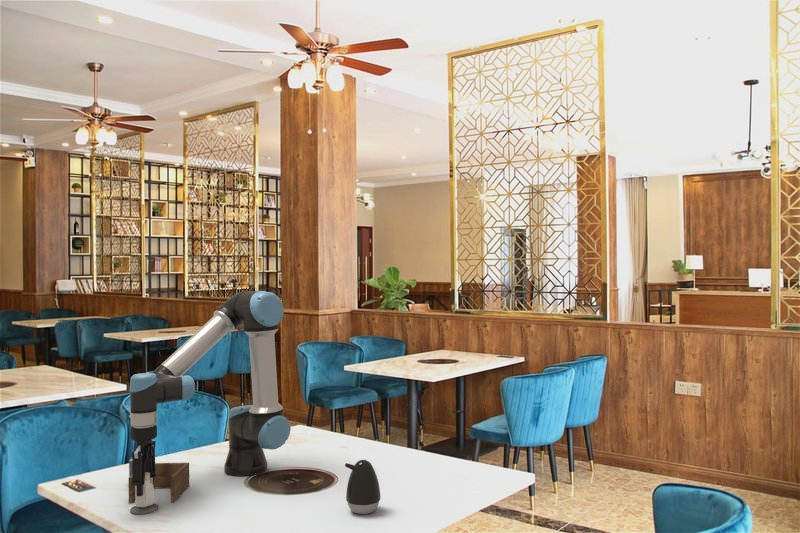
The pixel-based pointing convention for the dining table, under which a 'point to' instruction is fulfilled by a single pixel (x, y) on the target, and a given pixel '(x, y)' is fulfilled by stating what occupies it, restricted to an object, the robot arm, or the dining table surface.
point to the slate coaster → (144, 509)
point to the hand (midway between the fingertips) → (144, 502)
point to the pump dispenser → (362, 488)
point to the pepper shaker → (148, 490)
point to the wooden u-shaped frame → (167, 479)
